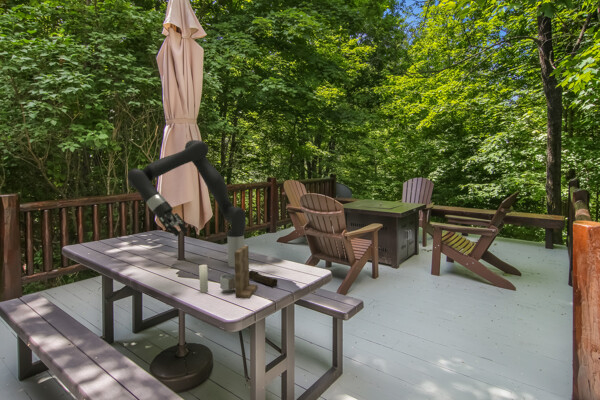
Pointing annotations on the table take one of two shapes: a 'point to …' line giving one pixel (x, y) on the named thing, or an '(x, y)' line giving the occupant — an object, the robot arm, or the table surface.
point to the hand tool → (262, 278)
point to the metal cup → (227, 282)
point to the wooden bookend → (243, 274)
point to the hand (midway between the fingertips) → (182, 233)
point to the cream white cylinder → (203, 278)
